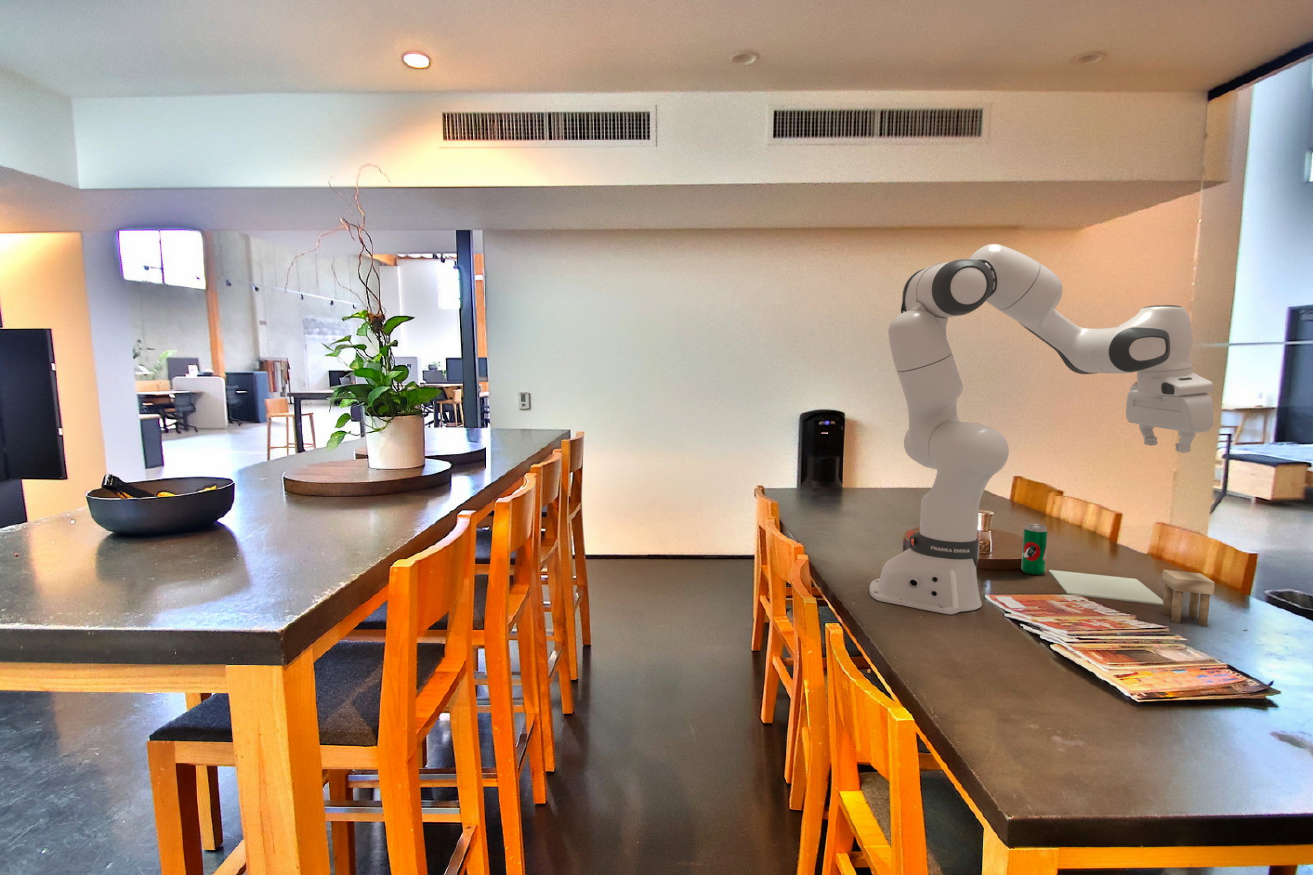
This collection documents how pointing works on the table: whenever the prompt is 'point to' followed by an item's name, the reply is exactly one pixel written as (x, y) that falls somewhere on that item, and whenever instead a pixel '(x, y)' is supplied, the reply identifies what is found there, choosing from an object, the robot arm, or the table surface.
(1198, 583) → the stool
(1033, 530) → the soda can
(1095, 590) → the mat
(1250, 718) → the table surface
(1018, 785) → the table surface
